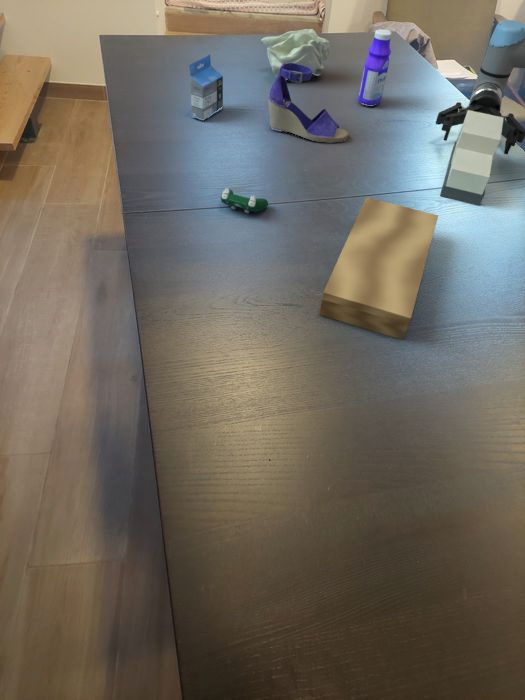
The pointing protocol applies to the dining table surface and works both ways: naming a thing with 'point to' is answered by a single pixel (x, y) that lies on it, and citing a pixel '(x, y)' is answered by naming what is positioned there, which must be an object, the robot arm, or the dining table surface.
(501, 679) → the dining table surface
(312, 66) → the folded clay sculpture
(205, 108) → the ink cartridge box
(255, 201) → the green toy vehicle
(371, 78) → the bottle
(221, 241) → the dining table surface
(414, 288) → the wooden base slab
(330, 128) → the sandal
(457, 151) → the white two-tier block
